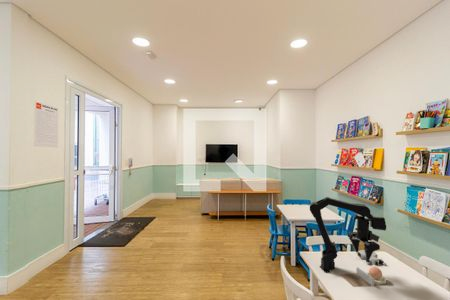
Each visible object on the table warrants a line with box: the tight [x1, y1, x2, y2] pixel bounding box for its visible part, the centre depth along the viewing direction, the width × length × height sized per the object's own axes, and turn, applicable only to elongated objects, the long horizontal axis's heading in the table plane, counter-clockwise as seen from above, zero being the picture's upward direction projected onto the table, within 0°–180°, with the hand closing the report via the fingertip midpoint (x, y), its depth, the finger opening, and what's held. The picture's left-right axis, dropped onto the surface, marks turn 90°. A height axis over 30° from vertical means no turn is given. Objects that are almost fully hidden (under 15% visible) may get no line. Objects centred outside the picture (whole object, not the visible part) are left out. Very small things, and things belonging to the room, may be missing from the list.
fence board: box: [339, 266, 395, 288], centre depth 120 cm, size 22×12×4 cm, turn 95°
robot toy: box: [354, 249, 387, 266], centre depth 143 cm, size 12×4×15 cm
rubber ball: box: [368, 266, 383, 279], centre depth 121 cm, size 6×6×6 cm
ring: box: [366, 271, 387, 284], centre depth 121 cm, size 9×9×1 cm
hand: (362, 255), depth 126 cm, fingers open, 9 cm apart
